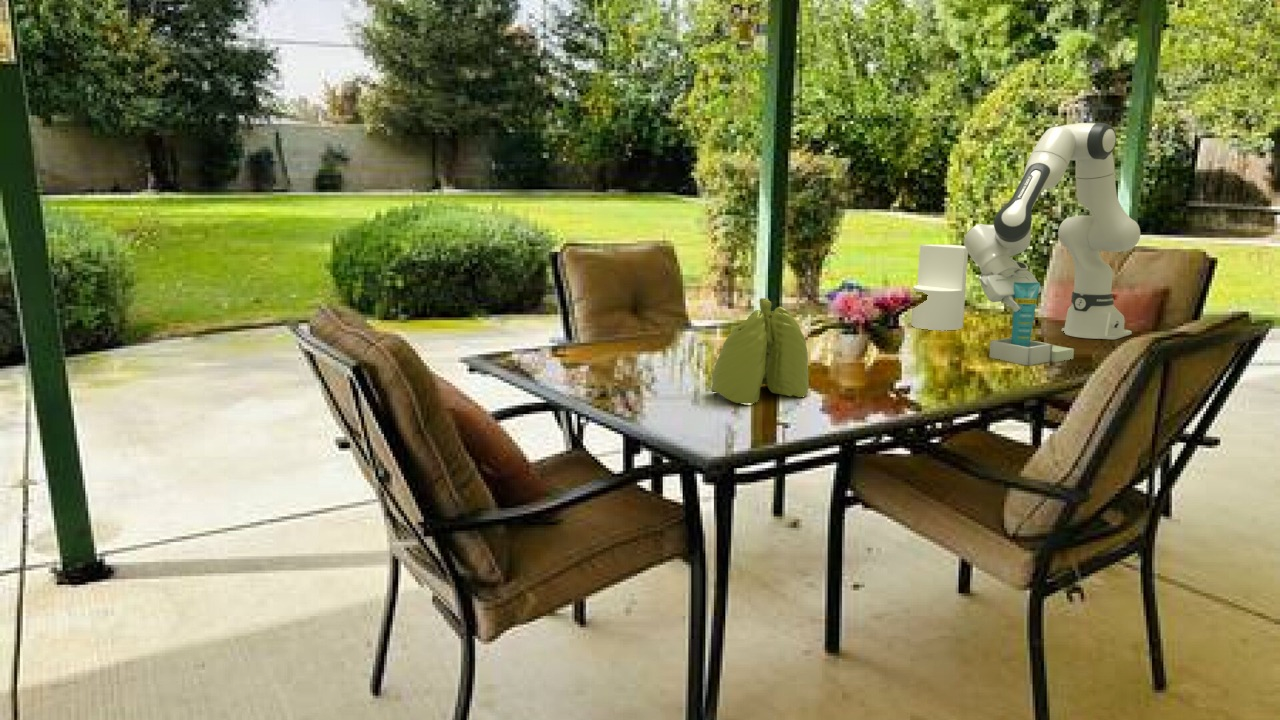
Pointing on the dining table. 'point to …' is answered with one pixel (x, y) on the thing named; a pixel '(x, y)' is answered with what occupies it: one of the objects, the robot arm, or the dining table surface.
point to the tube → (1024, 312)
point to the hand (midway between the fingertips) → (1026, 309)
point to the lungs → (762, 357)
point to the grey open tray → (1029, 352)
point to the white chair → (941, 287)
